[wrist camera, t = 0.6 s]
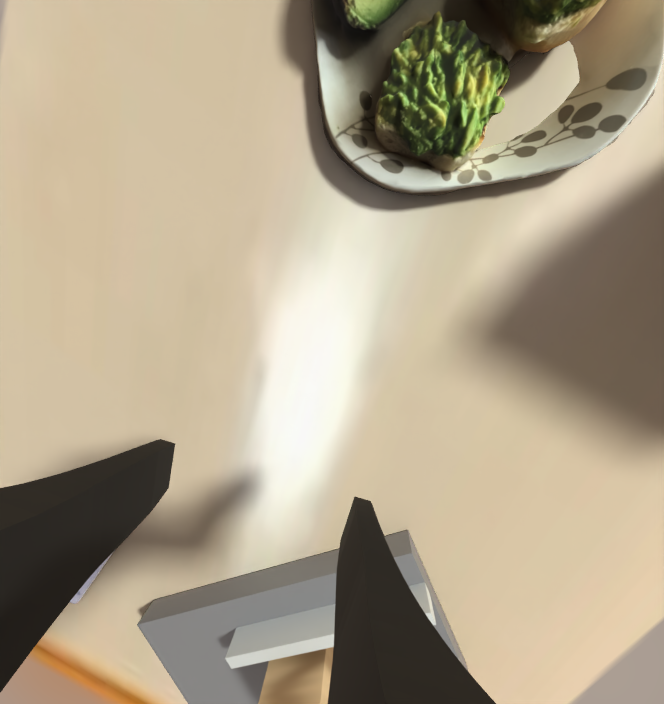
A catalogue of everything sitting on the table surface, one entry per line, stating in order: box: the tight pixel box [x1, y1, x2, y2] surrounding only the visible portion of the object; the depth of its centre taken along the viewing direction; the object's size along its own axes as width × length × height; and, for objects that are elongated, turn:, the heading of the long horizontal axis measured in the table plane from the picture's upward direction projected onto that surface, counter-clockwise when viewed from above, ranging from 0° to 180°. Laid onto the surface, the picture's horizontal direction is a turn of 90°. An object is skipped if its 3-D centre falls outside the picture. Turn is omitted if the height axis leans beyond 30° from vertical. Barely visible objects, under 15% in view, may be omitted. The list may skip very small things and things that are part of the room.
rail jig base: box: [137, 530, 468, 704], centre depth 24 cm, size 23×13×4 cm, turn 113°
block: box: [258, 647, 334, 704], centre depth 21 cm, size 4×4×4 cm
